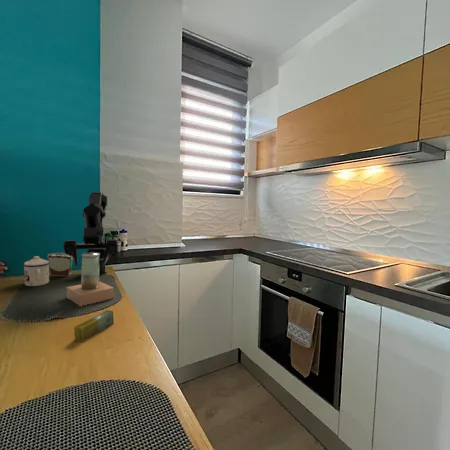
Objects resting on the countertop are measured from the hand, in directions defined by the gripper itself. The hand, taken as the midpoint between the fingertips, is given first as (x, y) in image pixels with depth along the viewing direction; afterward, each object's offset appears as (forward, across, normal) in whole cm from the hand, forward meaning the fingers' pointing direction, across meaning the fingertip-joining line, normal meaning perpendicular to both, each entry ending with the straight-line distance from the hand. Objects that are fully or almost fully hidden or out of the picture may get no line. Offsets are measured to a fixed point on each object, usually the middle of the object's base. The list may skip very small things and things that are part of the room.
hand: (90, 265), depth 102 cm
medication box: (+30, +4, -12) cm, 32 cm away
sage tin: (+6, 0, +5) cm, 8 cm away
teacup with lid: (-7, -22, +25) cm, 34 cm away
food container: (-17, -15, +35) cm, 41 cm away
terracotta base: (+9, 0, +8) cm, 12 cm away
